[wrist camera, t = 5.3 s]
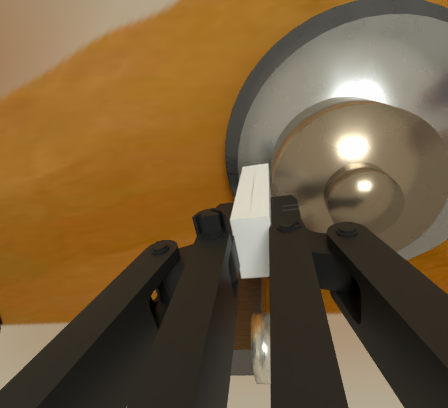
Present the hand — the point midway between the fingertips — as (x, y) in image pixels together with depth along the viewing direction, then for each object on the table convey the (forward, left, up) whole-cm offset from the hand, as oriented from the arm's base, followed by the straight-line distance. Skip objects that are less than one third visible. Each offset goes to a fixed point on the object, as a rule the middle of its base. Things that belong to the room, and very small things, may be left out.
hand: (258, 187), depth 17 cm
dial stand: (-2, -8, -5) cm, 10 cm away
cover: (+5, 0, -2) cm, 5 cm away
